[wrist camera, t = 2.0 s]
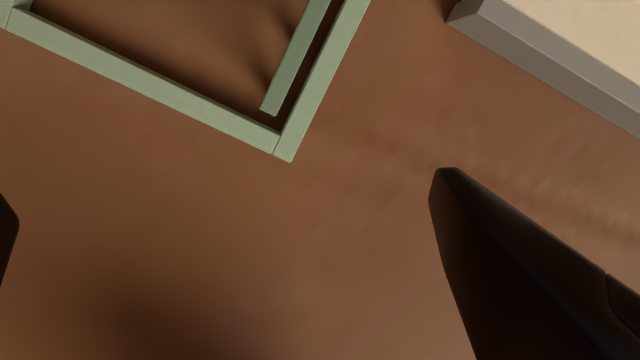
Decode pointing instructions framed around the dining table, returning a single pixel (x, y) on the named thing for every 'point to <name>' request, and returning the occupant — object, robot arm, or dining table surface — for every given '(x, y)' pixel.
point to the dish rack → (13, 15)
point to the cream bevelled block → (566, 48)
